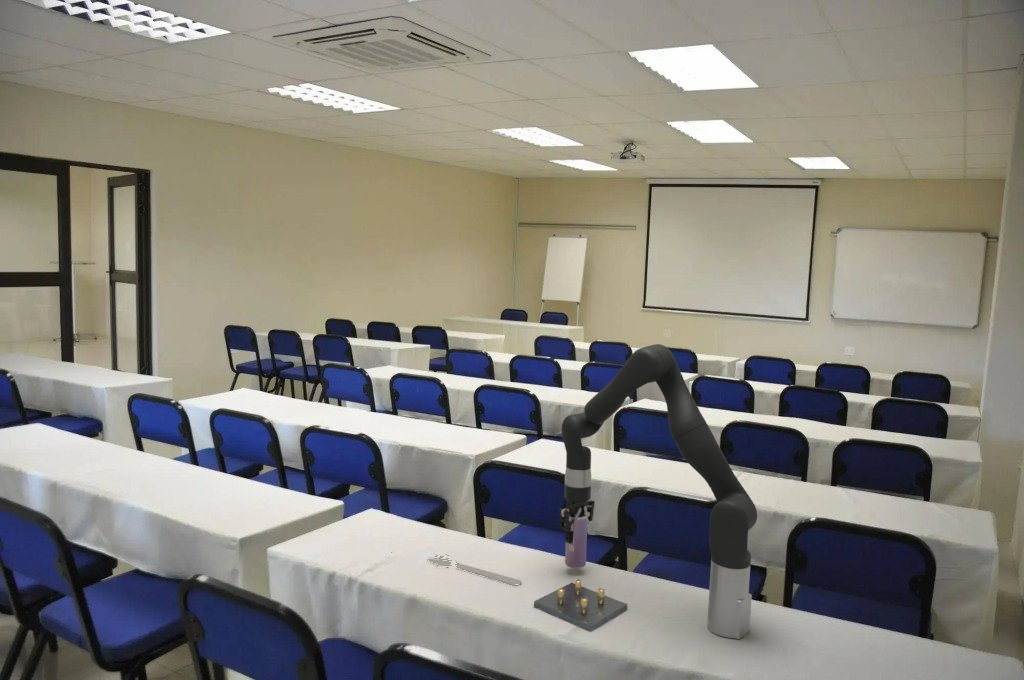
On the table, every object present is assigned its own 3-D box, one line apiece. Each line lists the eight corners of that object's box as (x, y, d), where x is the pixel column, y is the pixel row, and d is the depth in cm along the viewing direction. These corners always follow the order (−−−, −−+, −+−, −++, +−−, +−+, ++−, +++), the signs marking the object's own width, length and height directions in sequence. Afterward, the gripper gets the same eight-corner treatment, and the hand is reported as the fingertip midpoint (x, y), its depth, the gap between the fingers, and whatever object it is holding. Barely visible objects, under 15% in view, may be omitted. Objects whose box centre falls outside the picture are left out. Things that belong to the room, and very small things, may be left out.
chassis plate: (627, 609, 188) (628, 591, 188) (590, 631, 177) (591, 611, 176) (571, 587, 200) (572, 570, 200) (533, 606, 189) (534, 588, 188)
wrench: (436, 554, 221) (436, 551, 221) (528, 580, 205) (528, 577, 205) (419, 564, 214) (419, 561, 214) (513, 591, 198) (513, 588, 198)
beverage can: (590, 565, 211) (591, 514, 209) (577, 571, 206) (578, 519, 205) (573, 559, 215) (575, 509, 213) (560, 565, 211) (562, 514, 209)
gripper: (573, 490, 201) (571, 550, 202) (603, 480, 211) (601, 536, 213) (551, 485, 206) (550, 542, 207) (582, 475, 216) (580, 530, 218)
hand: (576, 539), depth 210 cm, fingers closed on beverage can, 6 cm apart
